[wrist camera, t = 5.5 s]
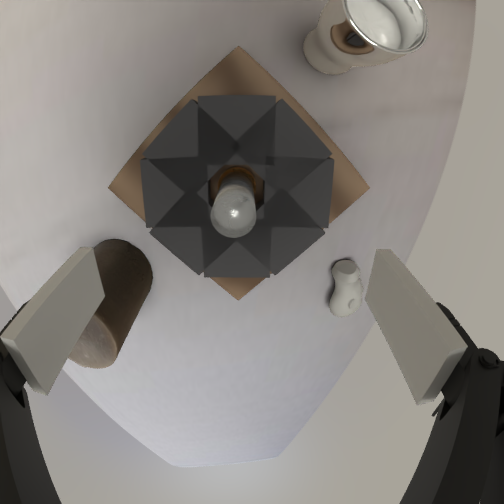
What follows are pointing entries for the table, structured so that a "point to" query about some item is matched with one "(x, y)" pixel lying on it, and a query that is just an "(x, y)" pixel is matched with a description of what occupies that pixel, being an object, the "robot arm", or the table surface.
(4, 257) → the table surface
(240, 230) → the steel post
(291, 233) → the dark grey faceted disc
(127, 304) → the pillar candle
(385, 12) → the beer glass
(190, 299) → the table surface
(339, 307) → the smooth white sculpture
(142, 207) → the walnut base
